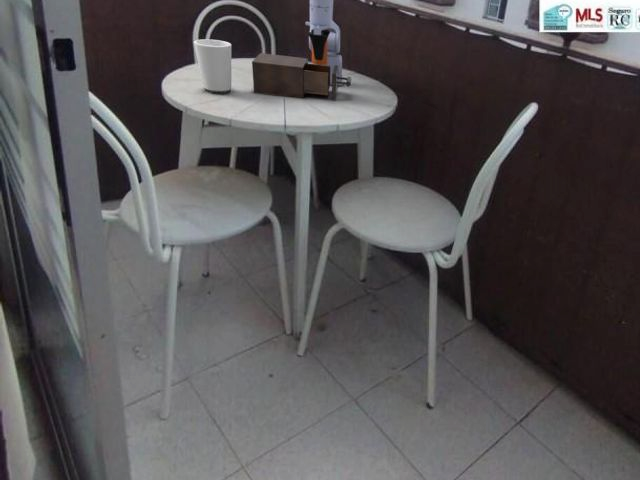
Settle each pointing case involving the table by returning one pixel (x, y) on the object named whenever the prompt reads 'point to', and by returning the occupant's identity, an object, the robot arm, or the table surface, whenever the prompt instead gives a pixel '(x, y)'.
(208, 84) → the cup
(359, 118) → the table surface
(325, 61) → the bottle
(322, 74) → the drawer
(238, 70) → the table surface
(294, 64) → the cabinet
